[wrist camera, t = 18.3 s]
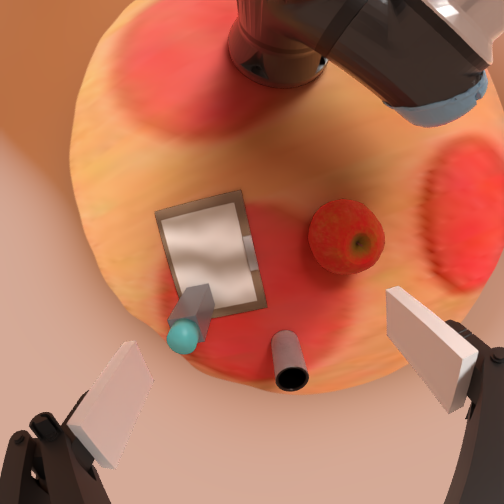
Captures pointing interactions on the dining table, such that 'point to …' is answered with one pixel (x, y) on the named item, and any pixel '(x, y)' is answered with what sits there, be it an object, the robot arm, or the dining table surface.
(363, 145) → the dining table surface
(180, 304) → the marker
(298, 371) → the grey hollow cylinder
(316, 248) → the apple
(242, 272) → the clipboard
